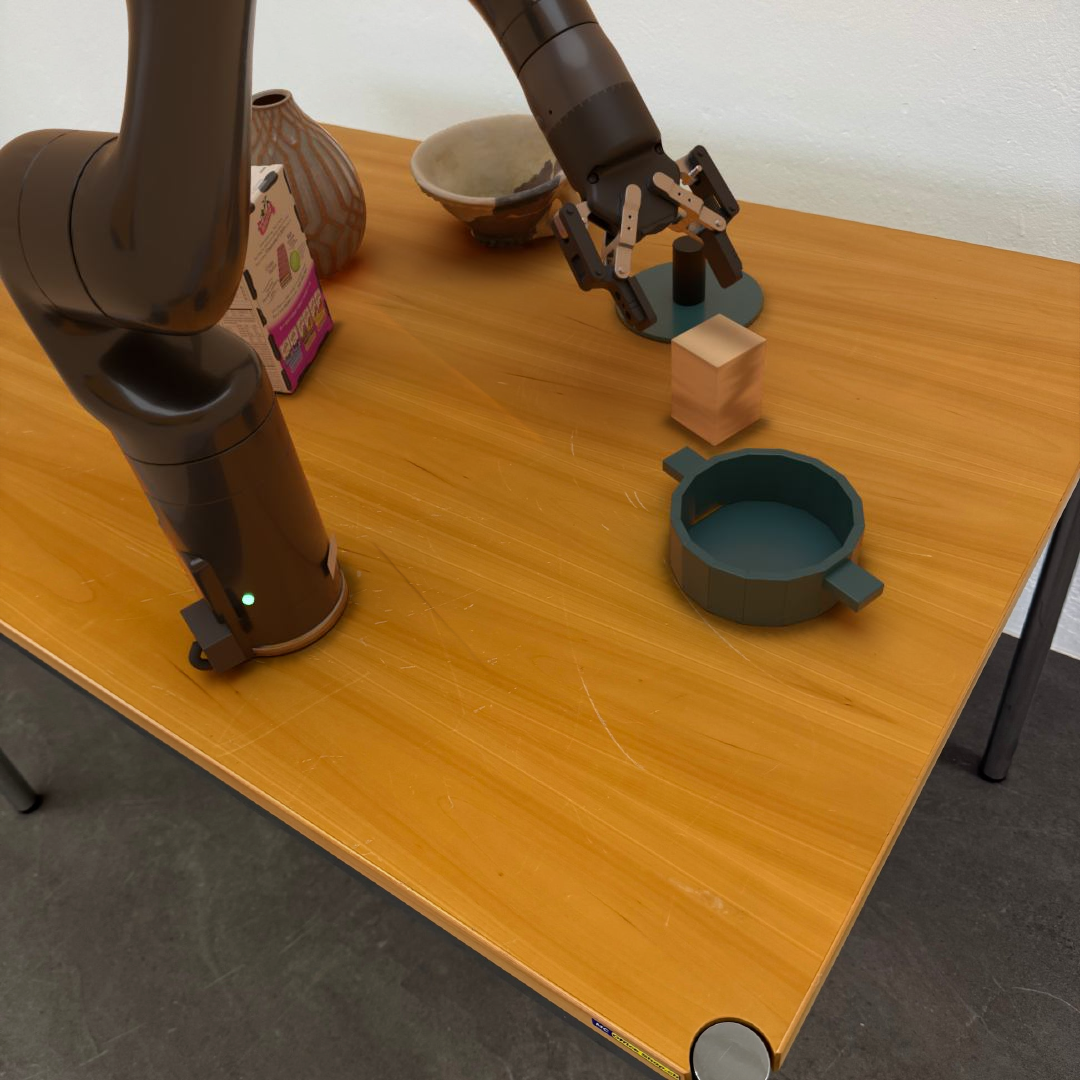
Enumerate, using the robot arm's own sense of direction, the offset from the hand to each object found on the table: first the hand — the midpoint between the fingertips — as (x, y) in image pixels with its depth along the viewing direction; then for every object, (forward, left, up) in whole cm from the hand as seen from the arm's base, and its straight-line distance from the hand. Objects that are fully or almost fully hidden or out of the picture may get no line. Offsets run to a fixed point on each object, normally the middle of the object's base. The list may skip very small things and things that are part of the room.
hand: (692, 305), depth 71 cm
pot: (-8, -16, -10) cm, 20 cm away
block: (0, -3, -10) cm, 10 cm away
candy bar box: (-22, +31, -10) cm, 39 cm away
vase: (-12, +45, -10) cm, 48 cm away
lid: (+10, +11, -9) cm, 18 cm away
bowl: (+6, +35, -10) cm, 37 cm away
